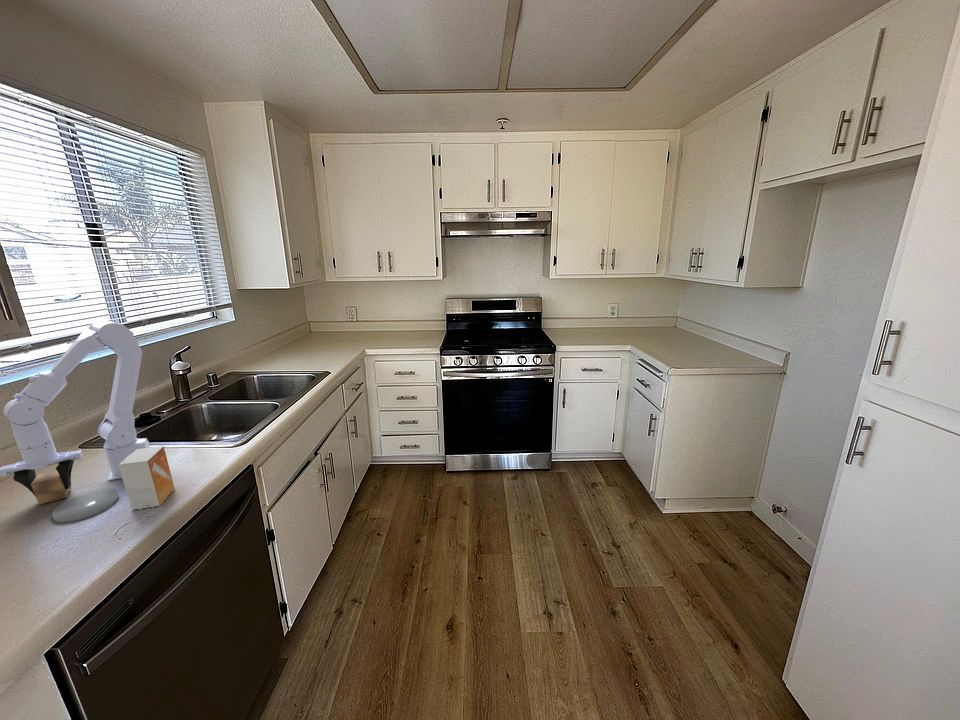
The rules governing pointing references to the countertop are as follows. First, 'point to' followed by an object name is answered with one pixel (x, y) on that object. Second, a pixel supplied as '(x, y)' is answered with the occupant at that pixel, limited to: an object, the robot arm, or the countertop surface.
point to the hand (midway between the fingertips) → (53, 490)
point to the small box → (146, 477)
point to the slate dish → (85, 505)
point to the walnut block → (49, 487)
